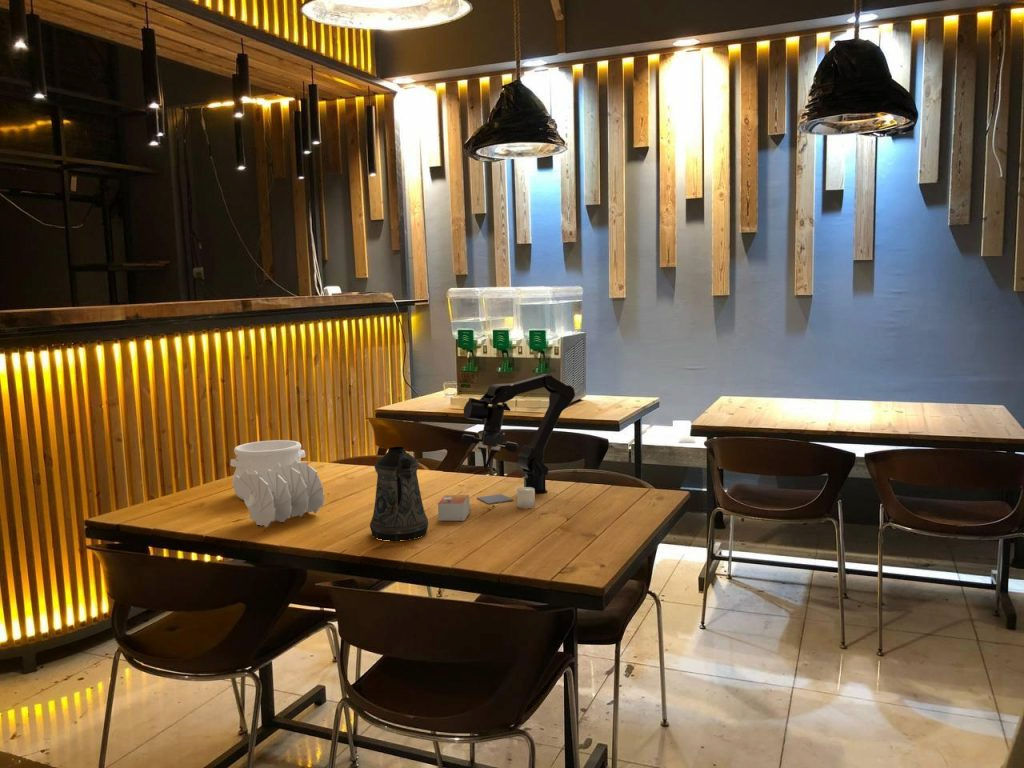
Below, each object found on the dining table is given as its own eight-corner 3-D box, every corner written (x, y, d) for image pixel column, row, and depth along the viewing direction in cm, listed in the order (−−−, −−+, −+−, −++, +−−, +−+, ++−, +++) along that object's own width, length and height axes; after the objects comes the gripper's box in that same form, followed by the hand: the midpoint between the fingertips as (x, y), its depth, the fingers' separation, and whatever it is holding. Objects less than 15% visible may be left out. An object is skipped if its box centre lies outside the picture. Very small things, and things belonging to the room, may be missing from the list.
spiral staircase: (324, 525, 261) (258, 542, 241) (291, 495, 270) (224, 509, 250) (341, 476, 256) (274, 489, 235) (306, 447, 264) (239, 457, 244)
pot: (292, 483, 305) (289, 436, 303) (320, 495, 285) (318, 445, 283) (221, 495, 289) (218, 445, 287) (246, 508, 270) (243, 455, 268)
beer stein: (401, 522, 248) (397, 440, 245) (448, 533, 235) (445, 446, 233) (358, 536, 235) (354, 449, 232) (405, 548, 223) (401, 456, 220)
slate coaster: (501, 495, 278) (501, 494, 278) (513, 500, 270) (513, 499, 270) (477, 498, 274) (477, 497, 274) (488, 504, 266) (488, 503, 266)
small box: (469, 494, 257) (464, 503, 247) (470, 512, 258) (464, 521, 247) (444, 494, 258) (437, 502, 248) (444, 512, 259) (438, 521, 248)
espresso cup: (530, 502, 268) (529, 485, 268) (537, 507, 261) (536, 490, 260) (513, 503, 267) (513, 486, 266) (520, 509, 259) (519, 491, 259)
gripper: (464, 418, 264) (456, 466, 264) (521, 428, 265) (513, 476, 265) (465, 417, 275) (457, 463, 275) (521, 426, 276) (512, 472, 276)
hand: (485, 469), depth 272 cm, fingers closed
